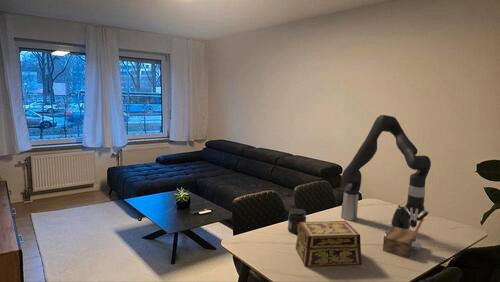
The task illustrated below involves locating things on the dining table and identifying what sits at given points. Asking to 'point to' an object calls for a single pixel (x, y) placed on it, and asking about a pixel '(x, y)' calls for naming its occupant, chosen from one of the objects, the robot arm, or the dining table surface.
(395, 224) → the dark egg shape
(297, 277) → the dining table surface
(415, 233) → the keeper flap
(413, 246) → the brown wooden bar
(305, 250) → the decorative box
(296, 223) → the supplement container
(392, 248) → the walnut block
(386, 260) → the dining table surface
